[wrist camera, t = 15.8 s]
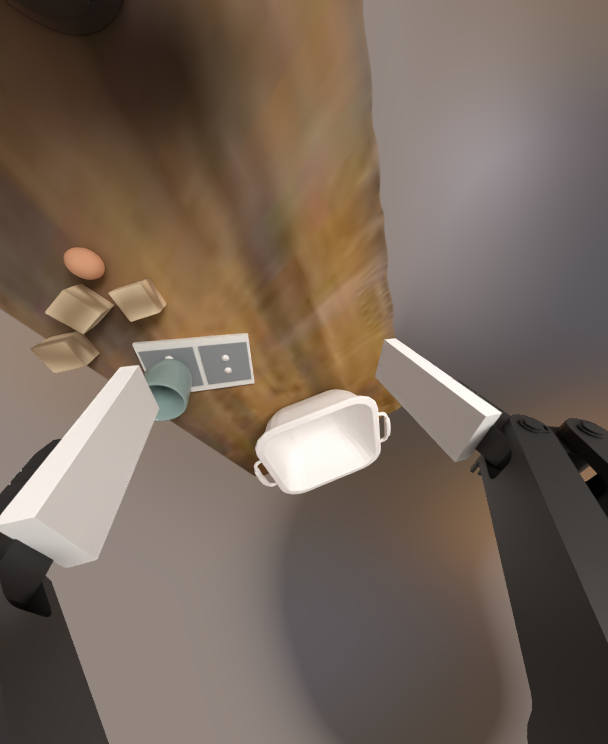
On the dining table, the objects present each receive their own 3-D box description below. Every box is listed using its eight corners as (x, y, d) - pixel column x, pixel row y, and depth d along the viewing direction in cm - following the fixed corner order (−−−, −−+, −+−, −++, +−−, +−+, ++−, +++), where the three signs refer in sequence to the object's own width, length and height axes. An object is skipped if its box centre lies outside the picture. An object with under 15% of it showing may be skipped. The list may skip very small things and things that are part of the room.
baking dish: (361, 355, 54) (391, 385, 44) (369, 425, 71) (392, 458, 61) (232, 404, 52) (231, 447, 42) (271, 464, 69) (278, 505, 59)
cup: (166, 391, 44) (151, 428, 36) (139, 361, 40) (115, 395, 32) (203, 377, 45) (196, 410, 37) (180, 346, 40) (167, 376, 32)
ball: (68, 246, 30) (48, 248, 27) (102, 246, 31) (86, 248, 28) (83, 277, 32) (67, 282, 29) (115, 276, 33) (102, 281, 30)
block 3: (121, 285, 34) (108, 292, 30) (149, 277, 34) (139, 283, 31) (140, 312, 37) (130, 321, 33) (166, 304, 37) (159, 312, 33)
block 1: (65, 303, 33) (44, 312, 30) (81, 283, 33) (62, 290, 29) (98, 323, 36) (83, 334, 32) (114, 305, 35) (100, 313, 32)
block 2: (64, 341, 32) (81, 330, 36) (30, 348, 32) (50, 336, 35) (85, 366, 35) (99, 353, 38) (54, 373, 34) (71, 359, 38)
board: (133, 342, 39) (131, 345, 38) (247, 332, 43) (248, 335, 42) (157, 394, 46) (155, 398, 44) (254, 381, 50) (254, 384, 49)
